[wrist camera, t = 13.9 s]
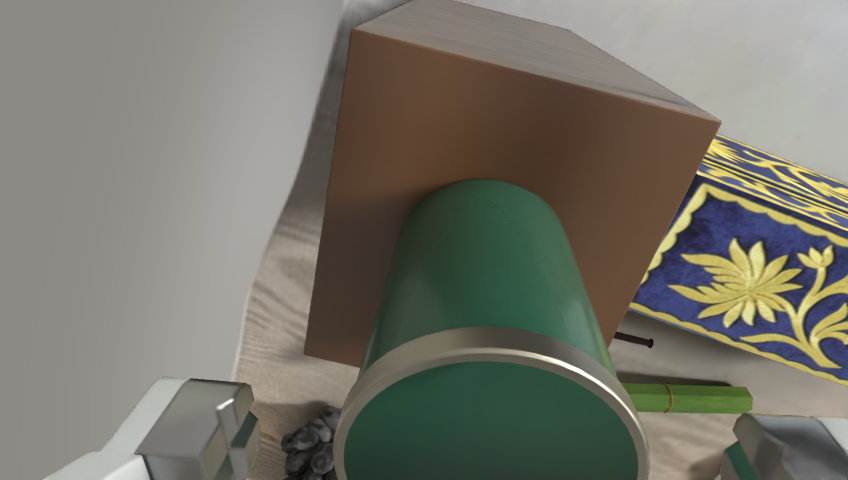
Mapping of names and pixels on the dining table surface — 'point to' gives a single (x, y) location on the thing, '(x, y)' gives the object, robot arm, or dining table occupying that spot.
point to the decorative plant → (689, 398)
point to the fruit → (312, 448)
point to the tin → (487, 354)
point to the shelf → (496, 152)
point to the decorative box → (757, 261)
